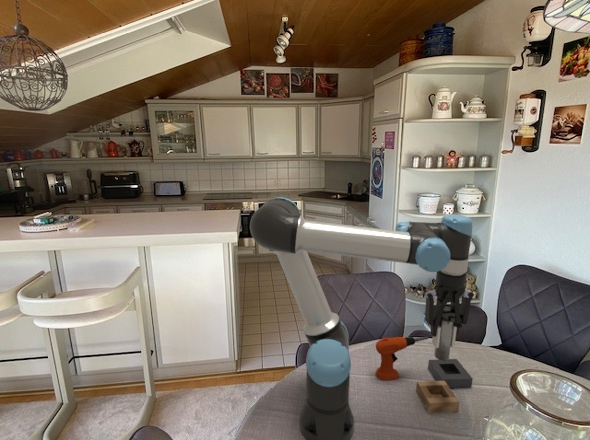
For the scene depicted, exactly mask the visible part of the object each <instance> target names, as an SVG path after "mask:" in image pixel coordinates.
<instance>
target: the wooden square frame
mask: <svg viewBox="0 0 590 440" xmlns="http://www.w3.org/2000/svg"><path fill="white" fill-rule="evenodd" d="M415 389H416V390H415V392H416V394H417V395H418V397H419V399H420V401H421V403H422V405H423V407H424V408H425V410H426V412H427V413H428V414H439V413H441V414H442V413H444V414H445V413H458V412H459V408H460V400H459V399H458V397H457V396H456V395H455V393H454V392H453V390H452V389H450V388H449V386H448V385H447V383H446V382H445V381H436V380H427V381H425V380H424V381H416V388H415Z"/></svg>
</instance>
